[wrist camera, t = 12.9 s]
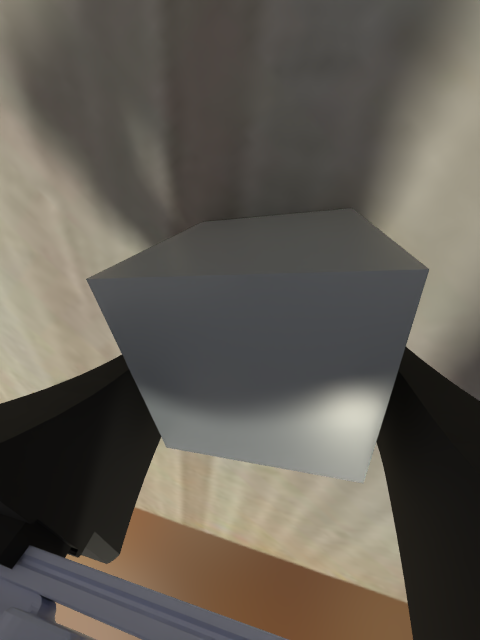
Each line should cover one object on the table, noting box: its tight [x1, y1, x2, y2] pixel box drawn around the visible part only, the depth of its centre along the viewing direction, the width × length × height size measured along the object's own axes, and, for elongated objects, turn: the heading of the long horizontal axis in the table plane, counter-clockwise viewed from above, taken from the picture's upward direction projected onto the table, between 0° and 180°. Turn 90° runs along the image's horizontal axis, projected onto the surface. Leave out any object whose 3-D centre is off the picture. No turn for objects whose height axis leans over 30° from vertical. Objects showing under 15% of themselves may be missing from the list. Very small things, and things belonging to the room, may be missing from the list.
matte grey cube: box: [86, 208, 429, 483], centre depth 8 cm, size 6×6×7 cm
